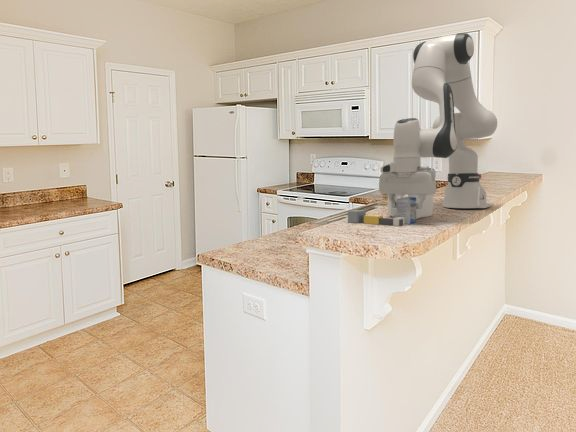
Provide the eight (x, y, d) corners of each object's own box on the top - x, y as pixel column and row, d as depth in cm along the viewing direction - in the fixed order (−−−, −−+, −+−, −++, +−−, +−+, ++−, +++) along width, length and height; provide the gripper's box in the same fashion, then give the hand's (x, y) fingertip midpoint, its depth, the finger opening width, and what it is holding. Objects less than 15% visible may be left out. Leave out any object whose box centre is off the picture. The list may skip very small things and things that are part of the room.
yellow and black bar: (364, 222, 163) (364, 214, 162) (404, 225, 151) (404, 217, 151) (357, 223, 160) (357, 215, 160) (398, 226, 148) (398, 218, 148)
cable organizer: (410, 220, 165) (410, 188, 164) (386, 218, 173) (386, 187, 171) (433, 217, 174) (433, 186, 173) (409, 215, 182) (409, 186, 181)
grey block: (356, 221, 166) (356, 210, 165) (367, 222, 162) (367, 210, 162) (347, 222, 162) (347, 211, 162) (358, 223, 159) (358, 211, 159)
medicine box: (409, 224, 153) (409, 198, 152) (396, 224, 155) (396, 198, 154) (416, 222, 160) (416, 197, 159) (403, 221, 162) (404, 196, 161)
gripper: (440, 166, 150) (439, 208, 152) (386, 167, 165) (386, 206, 166) (430, 166, 146) (430, 210, 147) (376, 167, 161) (376, 207, 162)
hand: (406, 208), depth 157 cm, fingers open, 8 cm apart
